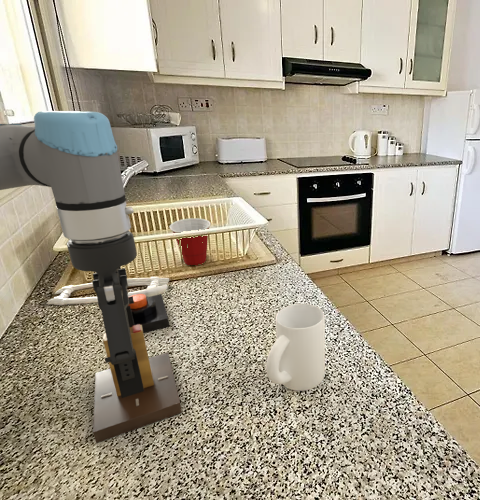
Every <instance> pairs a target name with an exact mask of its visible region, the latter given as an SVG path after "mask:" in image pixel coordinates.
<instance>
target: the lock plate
mask: <svg viewBox="0 0 480 500" xmlns="http://www.w3.org/2000/svg"><path fill="white" fill-rule="evenodd" d="M149 362H150V367H151V372H152V376H153V382H154V385H153V386H150V387H146V388H144V391H143V392H140V393H137V394H134V395H130V396H127V397H124V398H122V397H121V396H117V393H116V389H115V385H114V381H113V377H112V373H111V370H110V368H107V369H103V370H100V371H97V372H95V375H94V376H95V377H94V397H93V398H94V399H93V420H92V421H93V423H92V434H93V437H94V440H95V443H96V444H100V443H101V442H104V441H107V440H109V439H113V438H116V437H119V436H121V435H123V434H126V433H129V432H132V431H135V430H137V429H141V428H144V427H145V426H150V425H151V424H154V423H157V422H161V421H163V420H165V419H169V418H171V417H174V416H177V415H179V414H182V413H183V409H182V405H181V399H180V396H179V392H178V387H177V383H176V379H175V375H174V371H173V367H172V363H171V359H170V354H169V352H164V353H160V354H158V355H154V356H150V357H149Z"/></svg>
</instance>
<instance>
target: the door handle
mask: <svg viewBox="0 0 480 500" xmlns="http://www.w3.org/2000/svg"><path fill="white" fill-rule="evenodd" d="M127 282H128V287H137V286H147V287H146V288H145V289H141V290H140V289H139V290H136V291H129V292H128V297H130V296H132V295H135V294H144V295H146V296H147V297H150V296H155V295H160V294H162V295H163V294H164V293H165V292H166V291H167V290H168V287H169V285H168V284H169V282H170V278H169V277H159V276H150V277H134V278H133V277H131V278H127ZM89 288H93V282H89V283H83V284H82V283H81V284H77V285H73V284H71V285H66V286H62V287H60V288H59V289H57V290H56V291H55V292H54V295H58V294H59V295H58V296H54V297H53V298H50V299H49V300H48V301H47V302H46V305H54V306H63V305H80V304H81V305H82V304H92V303H98V299H97V296H91V297H75V298H69V297H70V296H71V293H73V292H74V291H77V290H83V289H89Z"/></svg>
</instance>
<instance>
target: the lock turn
mask: <svg viewBox="0 0 480 500" xmlns="http://www.w3.org/2000/svg"><path fill="white" fill-rule="evenodd" d="M130 333H131V338H132V344H133V349H135V351H136V356H137V360H138V365H139V369H140V374H141V378H142V383H143V387H144V388H146V387H150V386H153V385H154V382H153V376H152V372H151V367H150V362H149V358H150V357H149V354H148V353H149V352H148V348H147V343H146V339H145V333H143V329H142V325H140V324H138V325H134V326H133V327H130ZM102 342H103V346H104V350H105V354H106V358H107V357H110V352H109V347H108V342H107V337H106V332H104V333H103V334H102ZM108 366H109V369H110V370H111V373H112V377H113V381H114V385H115V389H116V393H117V396H121V393H120V389H119V385H118V381H117V377H116V373H115V369H114V365H112V364H111V363H110V362H109V363H108Z"/></svg>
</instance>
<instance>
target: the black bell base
mask: <svg viewBox="0 0 480 500" xmlns="http://www.w3.org/2000/svg"><path fill="white" fill-rule="evenodd" d="M146 299H147V305H145V306H143V307H141V308H136V309H131V312H132V316H133V321H134V325H138V324H140V325H142V329H143V334H147V333H150V332H155V331H159V330H162V329H166V328H170V327H171V326H170V320H169V315H168V313H167V309H166V304H165V302H164V298H163V293H162V294H158V295H155V296H150V297H147V296H146Z"/></svg>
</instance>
